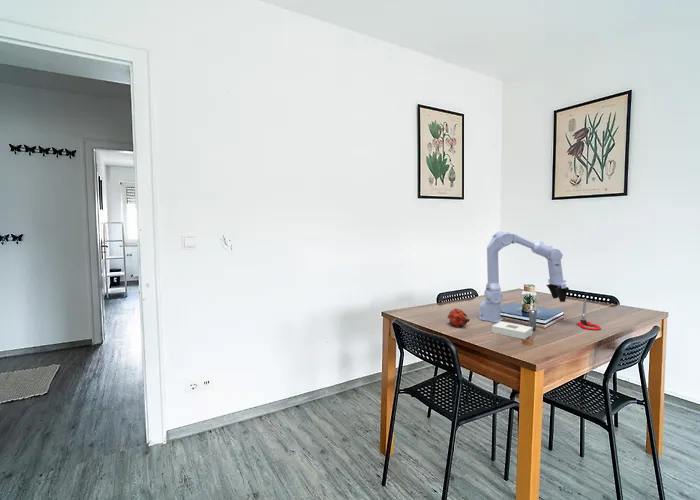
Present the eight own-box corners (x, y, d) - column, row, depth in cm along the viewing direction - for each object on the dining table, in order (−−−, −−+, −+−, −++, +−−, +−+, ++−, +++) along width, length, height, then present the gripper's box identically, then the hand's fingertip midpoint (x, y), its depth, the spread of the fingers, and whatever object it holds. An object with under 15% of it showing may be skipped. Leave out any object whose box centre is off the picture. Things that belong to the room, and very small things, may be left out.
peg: (527, 330, 170) (528, 310, 169) (529, 328, 172) (530, 309, 172) (534, 331, 168) (535, 311, 167) (536, 330, 170) (537, 310, 170)
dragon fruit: (451, 324, 185) (466, 335, 174) (440, 316, 181) (454, 326, 170) (461, 310, 185) (476, 320, 174) (450, 302, 181) (465, 311, 170)
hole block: (491, 332, 167) (491, 325, 167) (500, 327, 174) (500, 321, 174) (524, 339, 157) (524, 332, 157) (532, 334, 165) (532, 327, 164)
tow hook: (605, 331, 170) (589, 324, 179) (608, 303, 168) (592, 298, 177) (588, 332, 169) (573, 325, 178) (591, 304, 167) (575, 298, 176)
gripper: (571, 273, 175) (575, 302, 176) (557, 269, 189) (560, 295, 191) (555, 276, 176) (559, 304, 177) (542, 271, 190) (546, 297, 191)
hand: (559, 299), depth 184 cm, fingers open, 7 cm apart
